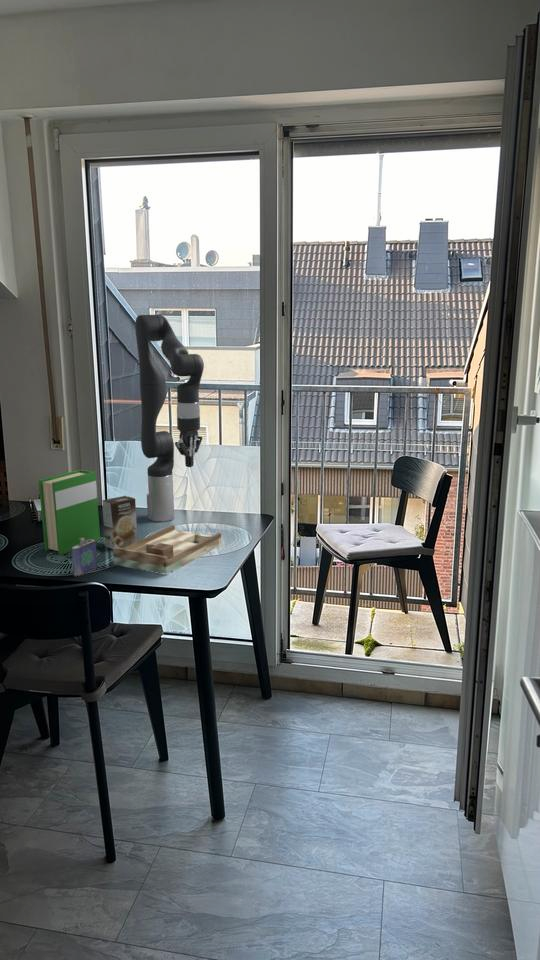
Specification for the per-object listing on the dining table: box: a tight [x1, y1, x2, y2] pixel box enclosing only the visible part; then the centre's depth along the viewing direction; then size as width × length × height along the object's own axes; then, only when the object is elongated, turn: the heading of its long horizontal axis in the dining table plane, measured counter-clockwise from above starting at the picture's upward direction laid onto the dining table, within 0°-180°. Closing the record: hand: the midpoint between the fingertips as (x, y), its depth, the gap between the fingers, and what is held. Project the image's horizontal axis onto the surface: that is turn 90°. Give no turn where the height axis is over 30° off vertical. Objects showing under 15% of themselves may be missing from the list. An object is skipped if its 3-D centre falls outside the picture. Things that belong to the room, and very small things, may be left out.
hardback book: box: [38, 469, 101, 555], centre depth 230 cm, size 18×7×24 cm, turn 147°
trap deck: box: [112, 524, 222, 574], centre depth 222 cm, size 20×31×6 cm, turn 152°
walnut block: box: [149, 543, 174, 559], centre depth 211 cm, size 5×5×4 cm
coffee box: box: [102, 495, 138, 550], centre depth 230 cm, size 9×6×16 cm
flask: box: [71, 537, 98, 577], centre depth 208 cm, size 9×3×11 cm, turn 151°
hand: (189, 466), depth 231 cm, fingers closed
